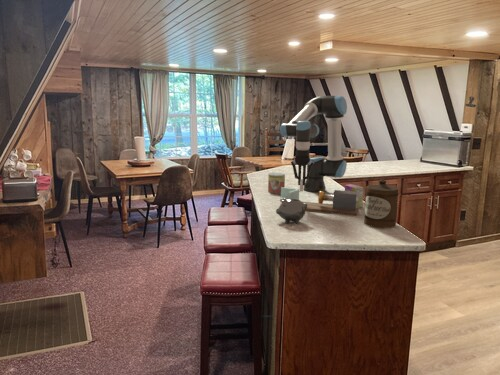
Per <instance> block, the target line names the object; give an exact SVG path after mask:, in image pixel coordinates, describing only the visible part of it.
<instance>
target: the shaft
mask: <svg viewBox="0 0 500 375" xmlns="http://www.w3.org/2000/svg"><path fill="white" fill-rule="evenodd" d="M324 193H325V191H319V192H318V202H317V203H321V204H323V203H324V202H327V201H328V202H333V194H324ZM356 203H358V197H356Z"/></svg>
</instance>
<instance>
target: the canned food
mask: <svg viewBox="0 0 500 375" xmlns="http://www.w3.org/2000/svg"><path fill="white" fill-rule="evenodd" d="M285 181H286V174H285V173H279V172H272V173H271V172H270V173H268V182H267V183H268V184H267V190H268V191H267V192H268V193H269V194H281V187H284V188H286V187H285V183H286V182H285Z"/></svg>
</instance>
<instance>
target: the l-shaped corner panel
mask: <svg viewBox="0 0 500 375" xmlns="http://www.w3.org/2000/svg"><path fill="white" fill-rule="evenodd" d="M283 198H286V199H297V200H300V188H299V189H298V188H291V187H290V188H289V187H285V188H284V187H281V193H280V198H279V201H280V202H282V201H283Z"/></svg>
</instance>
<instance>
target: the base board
mask: <svg viewBox="0 0 500 375" xmlns="http://www.w3.org/2000/svg"><path fill="white" fill-rule="evenodd" d="M302 202H303V203H304V204H307V208H306V210H305V212H311V213H323V214H335V215H345V216H346V215H347V216H358V210H359V207H358V206H356V210H355V211H351V210H339V209H333V203H324V202H323V204H321V203H318V202H310V201H302Z"/></svg>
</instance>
